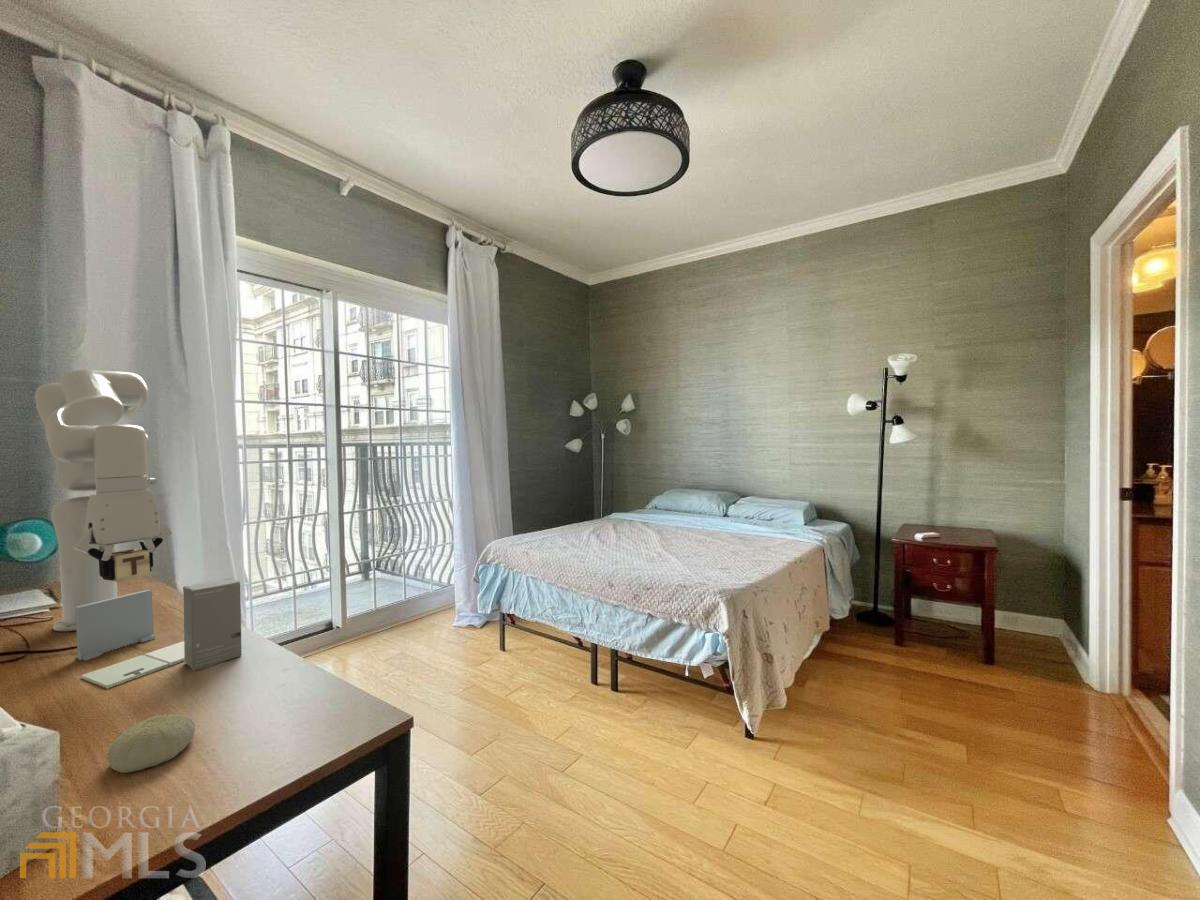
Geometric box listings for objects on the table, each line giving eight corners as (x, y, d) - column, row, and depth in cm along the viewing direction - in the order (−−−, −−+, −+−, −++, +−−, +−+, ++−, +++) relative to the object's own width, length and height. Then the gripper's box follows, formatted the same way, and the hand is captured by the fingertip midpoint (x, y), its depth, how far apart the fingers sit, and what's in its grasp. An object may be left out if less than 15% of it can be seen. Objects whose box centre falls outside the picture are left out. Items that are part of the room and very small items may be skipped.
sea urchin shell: (215, 718, 74) (183, 702, 68) (186, 779, 68) (149, 768, 63) (154, 720, 73) (117, 705, 68) (121, 781, 68) (77, 771, 62)
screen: (75, 658, 99) (72, 606, 99) (148, 635, 110) (146, 588, 110) (83, 661, 98) (80, 608, 97) (156, 638, 109) (154, 590, 108)
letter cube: (104, 579, 95) (103, 553, 95) (137, 572, 99) (135, 548, 99) (118, 581, 93) (117, 555, 93) (150, 574, 97) (149, 549, 97)
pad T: (81, 678, 91) (81, 674, 91) (142, 657, 99) (142, 654, 99) (107, 688, 87) (107, 684, 87) (168, 666, 95) (168, 662, 95)
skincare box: (192, 672, 92) (189, 591, 92) (183, 662, 97) (179, 585, 96) (245, 655, 99) (242, 580, 99) (233, 647, 103) (230, 575, 103)
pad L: (145, 656, 99) (145, 653, 99) (196, 639, 108) (196, 636, 108) (171, 665, 95) (171, 661, 95) (222, 646, 103) (222, 643, 103)
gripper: (164, 482, 105) (168, 563, 105) (52, 490, 89) (58, 586, 90) (184, 482, 102) (188, 566, 102) (72, 490, 86) (77, 590, 87)
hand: (127, 574), depth 96 cm, fingers closed on letter cube, 5 cm apart
